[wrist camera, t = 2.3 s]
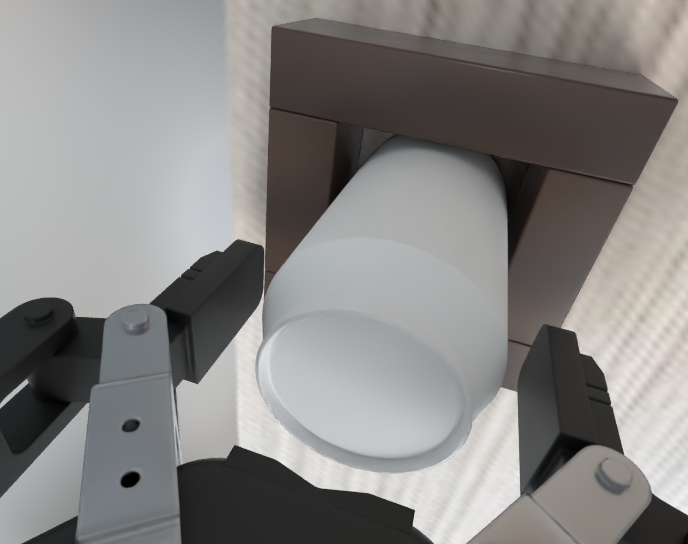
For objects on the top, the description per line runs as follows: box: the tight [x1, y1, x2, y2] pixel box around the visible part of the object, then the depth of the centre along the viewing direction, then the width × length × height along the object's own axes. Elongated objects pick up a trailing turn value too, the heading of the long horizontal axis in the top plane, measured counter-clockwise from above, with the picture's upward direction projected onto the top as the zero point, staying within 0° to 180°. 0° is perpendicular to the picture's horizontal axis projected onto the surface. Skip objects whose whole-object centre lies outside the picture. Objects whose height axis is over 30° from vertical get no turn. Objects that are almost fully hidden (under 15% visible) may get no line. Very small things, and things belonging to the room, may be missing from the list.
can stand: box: [264, 18, 678, 392], centre depth 18 cm, size 12×12×4 cm
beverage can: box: [256, 135, 508, 474], centre depth 15 cm, size 6×6×12 cm
